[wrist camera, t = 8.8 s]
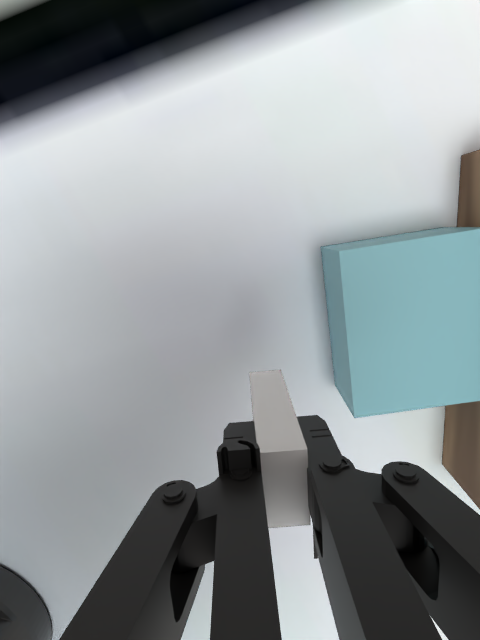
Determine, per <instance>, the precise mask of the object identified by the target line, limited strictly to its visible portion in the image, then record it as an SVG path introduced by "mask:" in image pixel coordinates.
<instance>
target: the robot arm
mask: <svg viewBox="0 0 480 640" xmlns="http://www.w3.org/2000/svg"><path fill="white" fill-rule="evenodd" d="M249 376H250V388H251V401H252V414H253V421H249V422H237V423H229V424H228V426H227V427H226V428H225V430H224V440H223V444H221V445H220V446H219V447H218V450H217V459H218V469H219V477H218V478H217V479H216V480H215V481H214V482H212V483H211V484H209V485H207V486H204V487H201V488H198V489H195V487H194V485H193V484H191V483H190V482H187V481H183V480H177V481H171V482H168V483H165V484H163V485H162V486H160V487H158V488H157V489H156V490H155V491H154V493H153V494H152V495H151V497H150V499H149V500H148V502H147V503H146V505H145V506H144V508H143V510H142V511H141V513H140V514H139V516H138V517H137V519H136V520H135V522H134V524H133V525H132V527H131V528H130V530H129V531H128V533H127V535H126V536H125V538H124V539H123V541H122V542H121V544H120V546H119V547H118V549H117V550H116V552H115V553H114V555H113V556H112V558H111V560H110V561H109V563H108V564H107V566H106V567H105V569H104V571H103V572H102V574H101V575H100V577H99V578H98V580H97V581H96V583H95V585H94V586H93V588H92V589H91V591H90V592H89V594H88V596H87V597H86V599H85V600H84V602H83V603H82V605H81V607H80V608H79V610H78V611H77V613H76V614H75V616H74V617H73V619H72V621H71V622H70V624H69V625H68V627H67V628H66V630H65V632H64V633H63V635H62V636H61V638H60V639H59V640H181V637H182V634H183V631H184V628H185V625H186V622H187V619H188V617H189V614H190V611H191V608H192V605H193V602H194V599H195V596H196V594H197V591H198V588H199V585H200V582H201V579H202V576H203V573H204V570H205V564H207V563H209V562H212V561H214V578H213V596H212V614H211V632H210V640H282V639H281V631H280V622H279V614H278V606H277V597H276V589H275V581H274V572H273V564H272V556H271V547H270V539H269V530H268V528H277V527H289V526H302V525H310V515H311V518H312V522H313V539H314V559H316V558H319V562H320V566H321V569H322V573H323V577H324V581H325V585H326V589H327V593H328V597H329V601H330V605H331V609H332V612H333V616H334V620H335V624H336V628H337V632H338V636H339V640H442V639H441V637H440V635H439V633H438V631H437V629H436V627H435V625H434V623H433V621H432V619H431V617H432V618H433V620H434V621H435V622H436V624H437V625H438V626H439V628H440V629H441V630H442V632H443V633H444V634H445V635H446V637H447V638H448V639H449V640H480V515H479V514H478V513H476V512H475V511H474V510H473V509H472V508H470V507H469V506H468V505H467V504H465V503H464V502H463V501H462V500H461V499H459V498H458V497H457V496H456V495H455V494H453V493H452V492H451V491H450V490H448V489H447V488H446V487H445V486H444V485H442V484H441V483H440V482H439V481H437V480H436V479H435V478H434V477H433V476H431V475H430V474H429V473H428V472H426V471H425V470H424V469H422V468H421V467H419V466H417V465H414V464H411V463H408V462H400V461H399V462H391V463H389V464H386V465H385V466H384V467H383V468H382V474H376V473H368V472H364V471H360V470H357V469H355V467H354V465H353V464H352V462H351V461H350V460H349V459H347V458H346V457H344V456H342V455H341V453H340V451H339V449H338V447H337V444H336V442H335V440H334V438H333V436H332V434H331V432H330V430H329V428H328V426H327V424H326V422H325V421H324V420H323V419H322V418H320V417H319V416H318V415H312V416H300V417H296V414H295V411H294V408H293V405H292V402H291V399H290V396H289V393H288V390H287V387H286V384H285V381H284V378H283V375H282V372H281V370H272V371H260V372H249ZM430 616H431V617H430ZM51 638H52V628H51V622H50V618H49V615H48V613H47V610H46V608H45V606H44V604H43V603H42V601H41V600H40V598H39V597H38V595H37V594H36V593H35V592H34V591H33V590H32V589H31V587H30V586H28V585H27V584H26V583H25V582H24V581H23V580H22V579H20V578H19V577H18V576H16V575H15V574H13V573H12V572H10V571H8V570H6V569H5V568H3V567H1V566H0V640H51Z"/></svg>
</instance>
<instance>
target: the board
mask: <svg viewBox="0 0 480 640" xmlns="http://www.w3.org/2000/svg"><path fill="white" fill-rule="evenodd" d="M457 227H480V150H477V151H474V152H471V153H468V154H465V155H462V156H461V170H460V186H459V202H458V218H457ZM442 465H443V466H444V467H445V468H446V470H447V471H448V472H449V473H450V474H451V475H452V477H453V478H454V479H455V480H456V481H457V483H458V484H459V485H460V486H461V487H462V489H463V490H464V491H465V492H466V493H467V495H468V496H469V497H470V498H471V499H472V501H473V502H474V503H475V504H476V505H477V507H478V508H479V509H480V401H475V402H467V403H460V404H453V405H446V409H445V425H444V441H443V457H442Z"/></svg>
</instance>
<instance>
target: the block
mask: <svg viewBox="0 0 480 640" xmlns="http://www.w3.org/2000/svg"><path fill="white" fill-rule="evenodd" d="M321 253H322V263H323V272H324V282H325V292H326V301H327V311H328V321H329V330H330V340H331V350H332V360H333V369H334V379H335V386H336V387H337V389H338V391H339V393H340V394H341V396H342V398H343V399H344V401H345V403H346V405H347V406H348V408H349V410H350V411H351V413H352V415H353V416H354V418H359V417H366V416H373V415H380V414H388V413H395V412H402V411H409V410H417V409H424V408H431V407H438V406H446V405H453V404H460V403H467V402H475V401H480V227H442V228H436V229H429V230H423V231H417V232H410V233H404V234H398V235H392V236H385V237H379V238H373V239H366V240H360V241H354V242H348V243H341V244H335V245H329V246H323V247H321Z"/></svg>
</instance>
